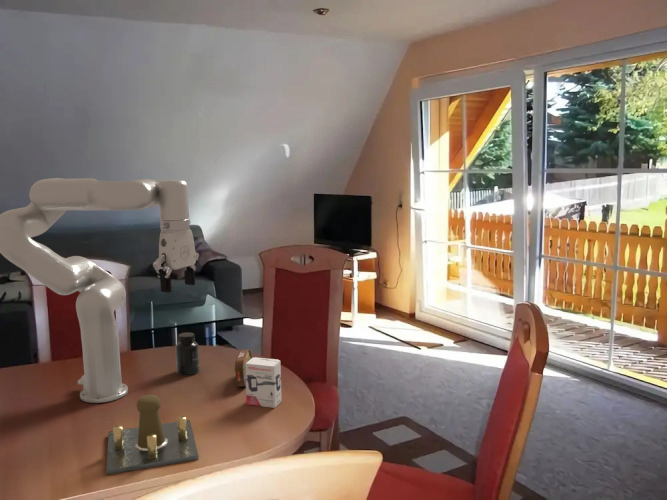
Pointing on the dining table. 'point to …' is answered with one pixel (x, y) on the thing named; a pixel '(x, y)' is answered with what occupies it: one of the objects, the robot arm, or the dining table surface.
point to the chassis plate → (141, 456)
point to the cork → (149, 420)
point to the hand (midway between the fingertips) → (178, 288)
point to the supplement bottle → (187, 355)
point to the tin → (242, 367)
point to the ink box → (263, 382)
